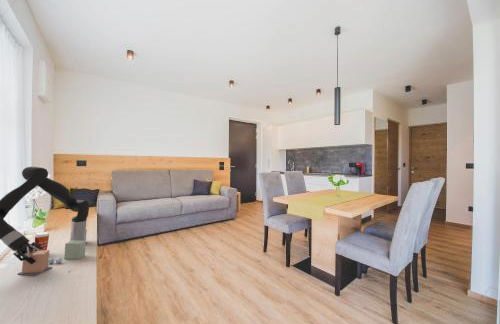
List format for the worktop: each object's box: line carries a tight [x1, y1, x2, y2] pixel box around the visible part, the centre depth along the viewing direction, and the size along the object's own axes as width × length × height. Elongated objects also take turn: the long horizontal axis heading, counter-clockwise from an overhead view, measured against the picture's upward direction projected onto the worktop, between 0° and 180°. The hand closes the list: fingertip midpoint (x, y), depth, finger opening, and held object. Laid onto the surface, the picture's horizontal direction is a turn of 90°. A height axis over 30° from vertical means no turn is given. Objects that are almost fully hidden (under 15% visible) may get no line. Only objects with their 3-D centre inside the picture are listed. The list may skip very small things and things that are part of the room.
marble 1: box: [48, 257, 56, 264], centre depth 137 cm, size 3×3×3 cm
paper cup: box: [33, 231, 51, 251], centre depth 149 cm, size 8×8×14 cm
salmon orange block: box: [21, 249, 50, 273], centre depth 127 cm, size 9×6×10 cm, turn 106°
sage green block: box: [63, 240, 87, 260], centre depth 147 cm, size 9×6×10 cm, turn 97°
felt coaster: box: [17, 266, 53, 277], centre depth 126 cm, size 10×10×1 cm
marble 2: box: [55, 257, 63, 264], centre depth 138 cm, size 3×3×3 cm
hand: (38, 259), depth 127 cm, fingers open, 8 cm apart
